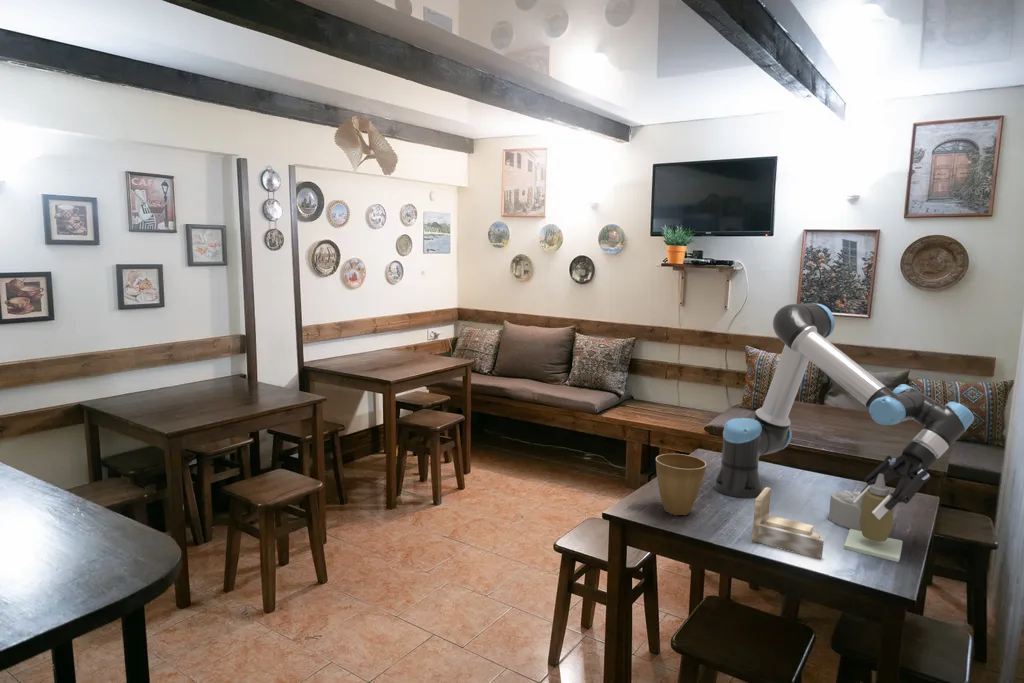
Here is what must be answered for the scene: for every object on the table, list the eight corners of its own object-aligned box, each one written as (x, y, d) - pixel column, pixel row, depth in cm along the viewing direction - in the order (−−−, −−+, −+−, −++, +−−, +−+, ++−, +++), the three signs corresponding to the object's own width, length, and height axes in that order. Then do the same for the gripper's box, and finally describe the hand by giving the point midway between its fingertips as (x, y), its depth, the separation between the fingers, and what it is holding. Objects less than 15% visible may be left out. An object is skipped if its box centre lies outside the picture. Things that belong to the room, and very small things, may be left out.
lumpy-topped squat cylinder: (869, 534, 187) (872, 505, 186) (822, 520, 196) (825, 492, 195) (881, 524, 194) (884, 496, 193) (835, 511, 204) (838, 484, 202)
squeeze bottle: (883, 532, 183) (890, 469, 180) (897, 545, 175) (904, 480, 172) (852, 530, 183) (859, 468, 181) (865, 543, 176) (872, 478, 173)
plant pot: (694, 525, 190) (698, 472, 188) (645, 513, 198) (648, 462, 196) (708, 508, 203) (712, 459, 201) (662, 498, 211) (665, 450, 208)
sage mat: (843, 548, 178) (844, 545, 177) (850, 532, 188) (850, 528, 188) (899, 562, 171) (899, 558, 170) (902, 544, 181) (902, 540, 181)
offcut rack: (751, 541, 181) (755, 499, 179) (762, 526, 191) (765, 487, 189) (821, 559, 171) (825, 515, 169) (828, 542, 181) (832, 501, 179)
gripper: (962, 471, 170) (900, 534, 169) (904, 448, 188) (848, 505, 188) (947, 452, 168) (885, 516, 167) (890, 430, 187) (833, 488, 186)
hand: (865, 510), depth 177 cm, fingers closed on squeeze bottle, 6 cm apart
